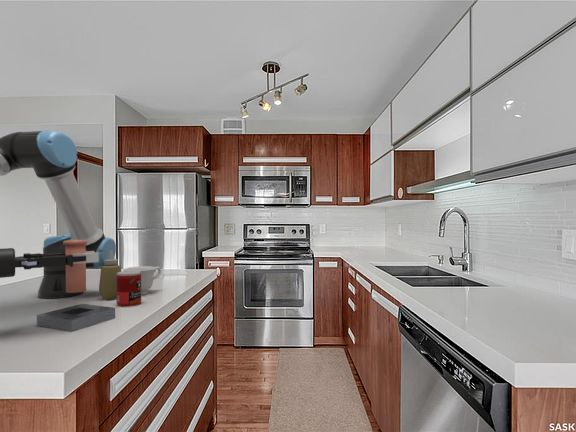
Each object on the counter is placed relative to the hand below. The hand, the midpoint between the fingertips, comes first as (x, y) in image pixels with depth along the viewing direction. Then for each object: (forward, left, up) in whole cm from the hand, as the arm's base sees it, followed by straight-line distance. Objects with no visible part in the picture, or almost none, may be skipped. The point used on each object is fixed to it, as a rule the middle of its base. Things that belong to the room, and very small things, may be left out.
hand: (96, 256), depth 109 cm
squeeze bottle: (-19, +22, -19) cm, 34 cm away
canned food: (-6, +18, -19) cm, 26 cm away
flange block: (-3, -4, -19) cm, 19 cm away
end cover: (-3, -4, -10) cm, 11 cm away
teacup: (-15, +34, -19) cm, 41 cm away
